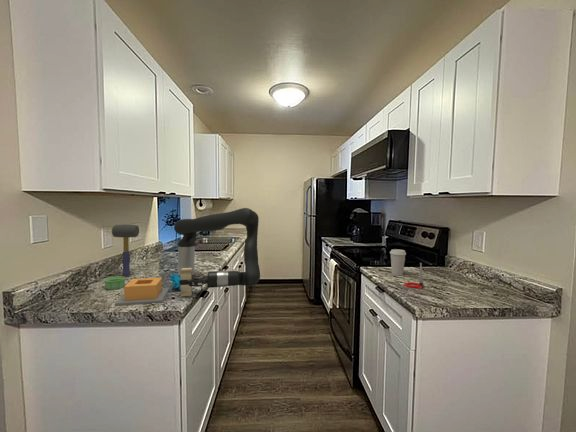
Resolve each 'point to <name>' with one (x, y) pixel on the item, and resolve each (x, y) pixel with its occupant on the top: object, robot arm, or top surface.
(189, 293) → the tall wooden block
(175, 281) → the gear
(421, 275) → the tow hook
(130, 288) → the orange square frame
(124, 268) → the rubber mallet
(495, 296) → the top surface
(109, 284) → the ramekin
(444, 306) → the top surface
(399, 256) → the coffee cup
